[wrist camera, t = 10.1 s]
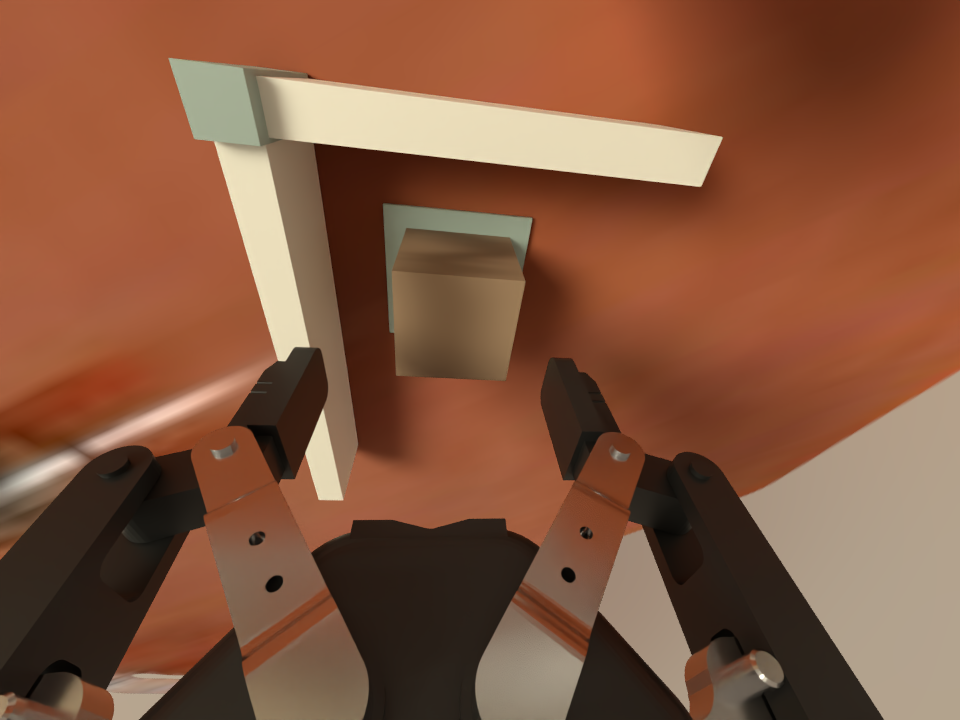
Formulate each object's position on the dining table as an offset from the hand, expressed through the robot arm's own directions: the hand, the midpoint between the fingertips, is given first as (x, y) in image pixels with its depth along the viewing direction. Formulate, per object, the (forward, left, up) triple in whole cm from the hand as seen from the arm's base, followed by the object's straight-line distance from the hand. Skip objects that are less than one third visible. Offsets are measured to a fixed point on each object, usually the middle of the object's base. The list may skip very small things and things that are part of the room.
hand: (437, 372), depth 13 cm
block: (0, -1, -8) cm, 8 cm away
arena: (-3, -2, -8) cm, 8 cm away
